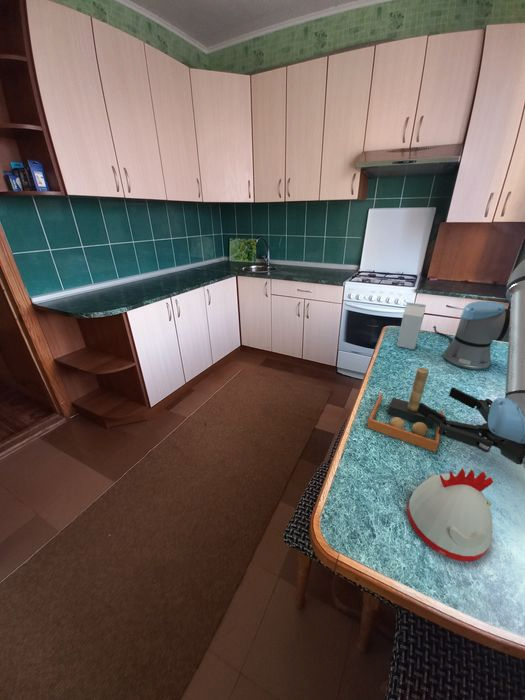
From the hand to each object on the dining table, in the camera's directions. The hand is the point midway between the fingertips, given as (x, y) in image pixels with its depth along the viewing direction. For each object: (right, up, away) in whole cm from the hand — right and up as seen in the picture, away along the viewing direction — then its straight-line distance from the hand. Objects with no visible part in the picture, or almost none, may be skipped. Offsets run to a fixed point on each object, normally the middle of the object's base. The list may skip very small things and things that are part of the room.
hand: (435, 399), depth 78 cm
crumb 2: (-4, -8, +1) cm, 9 cm away
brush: (-2, -7, +9) cm, 11 cm away
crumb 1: (-9, -7, +3) cm, 12 cm away
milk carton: (+17, +15, +50) cm, 55 cm away
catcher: (-5, -8, +6) cm, 11 cm away
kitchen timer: (-10, -22, -20) cm, 31 cm away
